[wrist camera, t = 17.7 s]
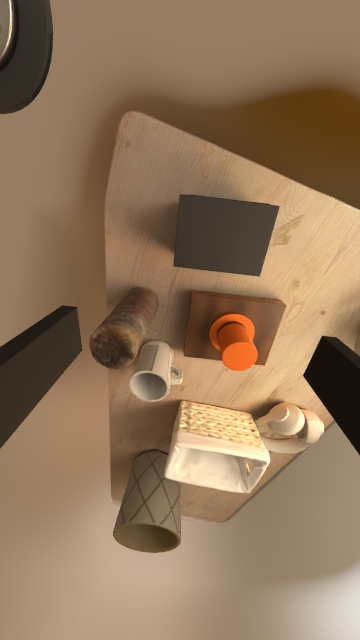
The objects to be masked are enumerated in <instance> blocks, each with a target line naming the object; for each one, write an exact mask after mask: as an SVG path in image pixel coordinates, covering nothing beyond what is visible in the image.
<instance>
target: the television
mask: <svg viewBox="0 0 360 640" xmlns="http://www.w3.org/2000/svg"><path fill="white" fill-rule="evenodd" d="M278 210H279V206H275V205H270V204H264V203H256V202H247V201H239V200H230V199H222V198H214V197H205V196H197V195H182V194H180V201H179V212H178V223H177V234H176V245H175V256H174V266H175V267H183V268H192V269H200V270H209V271H217V272H226V273H234V274H243V275H251V276H260V274H261V271H262V267H263V264H264V260H265V256H266V253H267V249H268V246H269V242H270V239H271V235H272V232H273V228H274V224H275V221H276V217H277V214H278Z"/></svg>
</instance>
